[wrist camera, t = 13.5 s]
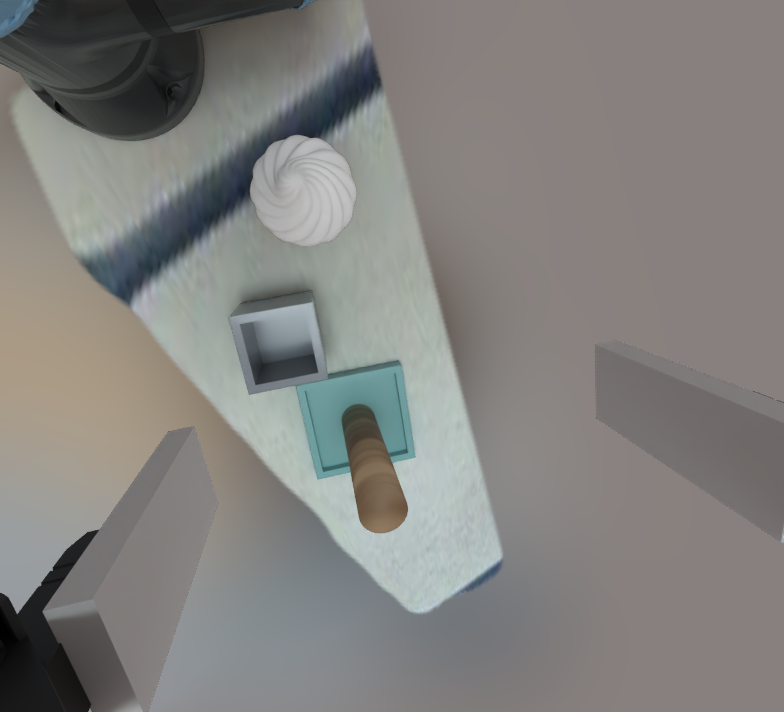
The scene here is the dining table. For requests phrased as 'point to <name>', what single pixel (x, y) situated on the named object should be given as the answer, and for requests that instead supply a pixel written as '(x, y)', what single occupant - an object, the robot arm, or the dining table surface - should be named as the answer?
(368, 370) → the tray
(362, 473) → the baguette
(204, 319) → the dining table surface
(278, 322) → the open box
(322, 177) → the soft serve ice cream cone
